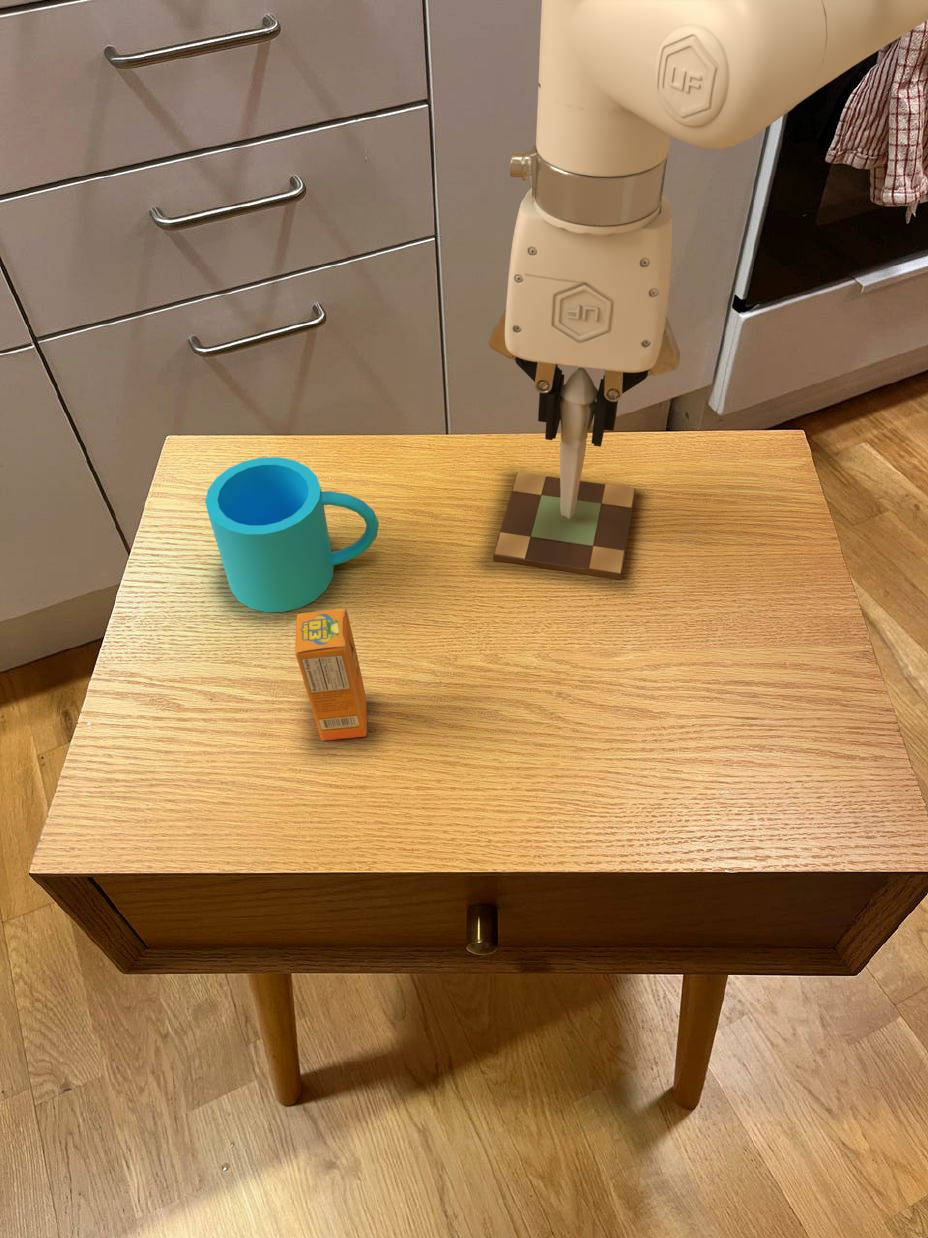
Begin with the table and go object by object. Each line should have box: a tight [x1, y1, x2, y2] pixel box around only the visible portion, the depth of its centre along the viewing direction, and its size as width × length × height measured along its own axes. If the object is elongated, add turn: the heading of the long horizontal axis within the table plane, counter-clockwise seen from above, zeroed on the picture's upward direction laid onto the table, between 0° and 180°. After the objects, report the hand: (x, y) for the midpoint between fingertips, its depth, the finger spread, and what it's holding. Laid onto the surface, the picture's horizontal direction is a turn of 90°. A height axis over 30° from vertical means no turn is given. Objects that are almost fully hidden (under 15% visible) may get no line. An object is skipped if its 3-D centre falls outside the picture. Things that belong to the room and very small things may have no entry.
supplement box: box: [294, 607, 368, 742], centre depth 62 cm, size 3×3×10 cm
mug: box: [204, 456, 380, 613], centre depth 72 cm, size 12×8×8 cm
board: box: [492, 471, 636, 580], centre depth 77 cm, size 10×10×1 cm
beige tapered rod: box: [559, 367, 599, 519], centre depth 71 cm, size 2×3×14 cm
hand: (576, 429), depth 70 cm, fingers closed on beige tapered rod, 2 cm apart
